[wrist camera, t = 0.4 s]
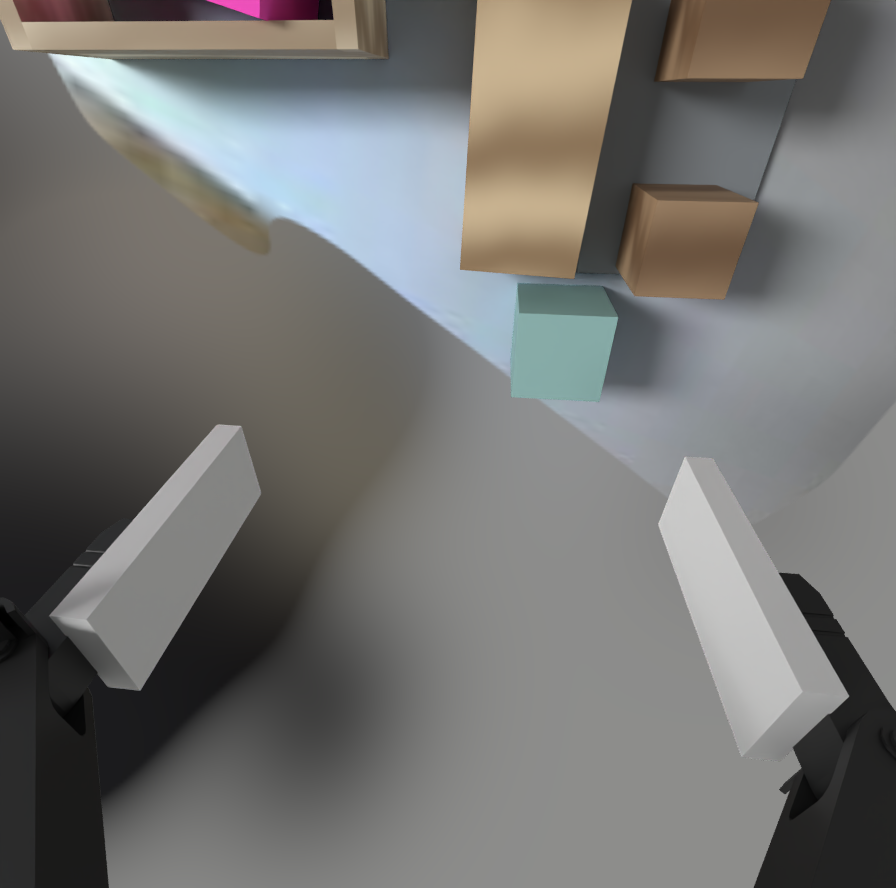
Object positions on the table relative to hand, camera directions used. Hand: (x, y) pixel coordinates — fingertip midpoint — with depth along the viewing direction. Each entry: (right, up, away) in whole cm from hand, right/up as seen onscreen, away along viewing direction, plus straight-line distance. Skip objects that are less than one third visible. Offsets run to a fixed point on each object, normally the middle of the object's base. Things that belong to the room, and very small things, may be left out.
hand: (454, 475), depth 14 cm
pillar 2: (+14, +15, +16) cm, 26 cm away
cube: (+8, +10, +21) cm, 25 cm away
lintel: (+5, +20, +14) cm, 25 cm away
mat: (+14, +19, +13) cm, 27 cm away
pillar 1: (+14, +23, +10) cm, 29 cm away
